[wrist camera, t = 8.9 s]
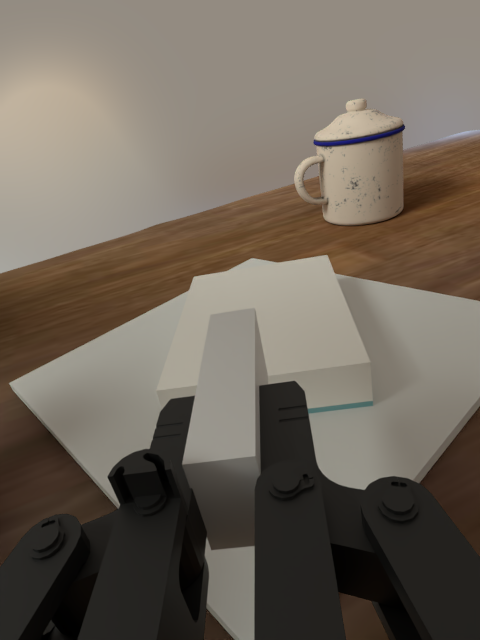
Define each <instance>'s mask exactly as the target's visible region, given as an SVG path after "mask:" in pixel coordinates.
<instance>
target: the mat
mask: <svg viewBox="0 0 480 640" xmlns="http://www.w3.org/2000/svg"><path fill="white" fill-rule="evenodd" d="M275 263H276V262H271V261H265V260H260V259H255V258H251V259H249V260H248V261H246V262H244V263H242V264H240V265H238V266H236V267H234V268H232V269H230V270H228V271H232V270H238V269H244V268H250V267H257V266H263V265H269V264H275ZM335 276H336V278H337V281H338V283H339V285H340V288H341V290H342V293H343V295H344V298H345V300H346V303H347V305H348V308H349V310H350V313H351V315H352V318H353V320H354V323H355V325H356V327H357V330H358V332H359V335H360V337H361V340H362V342H363V345H364V347H365V350H366V352H367V355H368V357H369V360H370V362H371V378H372V395H373V406H367V407H359V408H350V409H342V410H334V411H326V412H317V413H309V420H310V426H311V432H312V438H313V444H314V450H315V456H316V461H317V464H318V467H319V469H320V470H321V472H322V473H323V474H324V475H325V476H326V477H327V478H328V479H330V480H331V481H333V482H335V483H337V484H339V485H342V486H346V487H350V488H356V489H362V490H365V489H366V487H367V486H368V485H369V484H370V483H372V482H374V481H376V480H377V479H379V478H383V477H390V476H397V477H403V478H409V479H411V480H413V481H415V482H417V483H420V482H421V480H422V479H423V478H424V477H425V475H426V474H427V473H428V471H429V470H430V469H431V468H432V466H433V465H434V464H435V462H436V461H437V460H438V459H439V457H440V456H441V455H442V454H443V452H444V451H445V450H446V448H447V447H448V446H449V445H450V443H451V442H452V441H453V440H454V438H455V437H456V436H457V434H458V433H459V432H460V431H461V429H462V428H463V427H464V426H465V424H466V423H467V422H468V420H469V419H470V418H471V417H472V415H473V414H474V413H475V412H476V410H477V409H478V408H479V406H480V301H476V300H471V299H466V298H460V297H455V296H450V295H445V294H439V293H434V292H429V291H423V290H418V289H413V288H408V287H402V286H397V285H392V284H387V283H381V282H376V281H371V280H365V279H360V278H355V277H350V276H344V275H339V274H335ZM188 293H189V291H187V292H185V293H183V294H181V295H179V296H177V297H176V298H174V299H172V300H170V301H168V302H166V303H164V304H162V305H160V306H158V307H156V308H154V309H152V310H150V311H148V312H146V313H144V314H142V315H141V316H139V317H137V318H135V319H133V320H131V321H129V322H127V323H125V324H123V325H121V326H119V327H117V328H115V329H113V330H111V331H109V332H107V333H106V334H104V335H102V336H100V337H98V338H96V339H94V340H92V341H90V342H88V343H86V344H84V345H82V346H80V347H78V348H76V349H74V350H72V351H71V352H69V353H67V354H65V355H63V356H61V357H59V358H57V359H55V360H53V361H51V362H49V363H47V364H45V365H43V366H41V367H39V368H37V369H35V370H34V371H32V372H30V373H28V374H26V375H24V376H22V377H20V378H18V379H16V380H14V381H12V382H10V383H9V384H10V386H11V388H12V390H13V391H14V392H15V393H16V394H17V396H18V397H19V398H20V399H21V400H22V401H23V402H24V403H25V405H26V406H27V407H28V408H29V409H30V410H31V411H32V412H33V414H34V415H35V416H36V417H37V418H38V419H39V420H40V421H41V423H42V424H43V425H44V426H45V427H46V428H47V429H48V430H49V432H50V433H51V434H52V435H53V436H54V437H55V438H56V439H57V441H58V442H59V443H60V444H61V445H62V446H63V447H64V448H65V450H66V451H67V452H68V453H69V454H70V455H71V456H72V457H73V459H74V460H75V461H76V462H77V463H78V464H79V465H80V466H81V468H82V469H83V470H84V471H85V472H86V473H87V474H88V475H89V477H90V478H91V479H92V480H93V481H94V482H95V483H96V484H97V486H98V487H99V488H100V489H101V490H102V491H103V492H104V493H105V495H106V496H107V497H108V498H109V499H110V500H111V501H112V502H113V504H114V505H115V506H116V507H117V508H119V506H120V503H119V501H118V499H117V497H116V495H115V493H114V490H113V488H112V486H111V484H110V482H109V479H108V477H107V476H108V475H109V473H110V471H111V470H112V468H113V467H114V466H115V465H116V464H117V463H118V462H119V461H120V460H121V459H122V458H124V457H126V456H128V455H129V454H131V453H133V452H136V451H140V450H143V449H150V445H151V442H152V440H153V435H154V431H155V429H156V424H157V421H158V417H159V414H160V411H161V410H162V407H161V404H160V401H159V398H158V395H157V392H156V389H157V386H158V383H159V380H160V377H161V374H162V371H163V368H164V365H165V362H166V359H167V356H168V353H169V350H170V347H171V344H172V341H173V338H174V335H175V332H176V329H177V326H178V323H179V320H180V317H181V314H182V311H183V308H184V305H185V302H186V299H187V296H188ZM205 558H206V561H207V563H208V569H209V583H208V595H207V606H206V608H207V609H208V611H209V612H210V613H211V614H212V615H213V616H214V617H215V618H216V620H217V621H218V622H219V623H220V624H221V625H222V626H223V627H224V629H225V630H226V631H227V632H228V633H229V634H230V635H231V636H232V638H233V639H234V640H254V584H255V546H250V547H240V548H229V549H219V550H211V548H210V545H209V542H208V539H207V538H206V548H205Z"/></svg>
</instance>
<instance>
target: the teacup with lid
mask: <svg viewBox="0 0 480 640" xmlns="http://www.w3.org/2000/svg"><path fill="white" fill-rule="evenodd" d="M366 106H367V104H366V100H365V99H356V100H351V101H348V102H347V104H346V110H347V113H344V114H341V115H340V116H338V117H337V118H336V119H335V120H334V121H333V122H332V123H331V124H330V125H329V126H327V127H326V128H324V129H322V130H320V131H318V132H317V133H316V135H315V137H314V138H315V140H314V144H315V145H316V148H317V156H313V157H309V158H307V159H306V160H304V161H302V162H301V164H300V165H299V166H298V167H297V169H296V172H295V177H294V180H295V186H296V189H297V192H298V193H299V195H300V196H301V198H302V199H303V200H305V201H306V202H308V203H310V204H313V205H322V207H323V216H324V219H325V220H326V221H327V222H329V223H332V224H336V225H345V226H354V225H366V224H372V223H377V222H381V221H384V220H387V219H390V218H393V217H395V216H396V215H398V214H399V213H400V212H401V211H402V210H403V206H404V203H403V147H402V146H403V143H402V141H403V139H402V131H403V130H404V129H405V126H404V125H403V121H402V120H401V119H400V118H398V117H392V116H388V115H385V114H383V113H381V112H380V111H378V110H375V109H365V108H366ZM317 163H318V167H319V177H320V187H321V197H318V198H312V197H311V196H310V195H309V194H308V193H307V191H306V189H305V186H304V182H303V177H304V173H305V171H306V170H307V169H308V168H309V167H310V166H311V165H313V164H317Z"/></svg>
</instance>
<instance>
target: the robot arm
mask: <svg viewBox="0 0 480 640" xmlns="http://www.w3.org/2000/svg"><path fill="white" fill-rule="evenodd" d="M107 477H108V479H109V482H110V484H111V486H112V488H113V490H114V493H115V495H116V497H117V499H118V501H119V503H120V506H119V508H118V509H117V510H116V511H114V512H112V513H110V514H107V515H105V516H103V517H100V518H98V519H95V520H93V521H90V522H87V523H85V524H82V525H81V524H80V523H79V521H78V520H77V518H76V517H74V516H72V515H69V514H59V515H54V516H51V517H49V518H46V519H44V520H42V521H41V522H39V523H38V524H36V525H35V526H33V527H32V528H31V529H30V530H29V531H28V532H27V533H26V534H25V535H24V536H23V537H22V538H21V540H20V541H19V543H18V544H17V545H16V547H15V548H14V549H13V551H12V552H11V553H10V555H9V556H8V557H7V559H6V560H5V561H4V563H3V564H2V565H1V567H0V640H204V629H205V617H206V606H207V595H208V583H209V569H208V563H207V561H206V558H205V548H206V538H207V539H208V542H209V545H210V548H211V550H219V549H229V548H240V547H250V546H255V584H254V640H346V636H345V630H344V624H343V618H342V612H341V606H340V600H339V594H338V592H340V593H344V594H348V595H352V596H355V597H359V598H363V599H366V600H370V601H372V603H373V606H374V608H375V610H376V612H377V614H378V616H379V618H380V620H381V622H382V625H383V627H384V629H385V631H386V633H387V635H388V637H389V639H390V640H480V557H479V555H478V554H477V553H476V551H475V550H474V549H473V548H472V546H471V545H470V544H469V542H468V541H467V540H466V538H465V537H464V536H463V534H462V533H461V532H460V531H459V529H458V528H457V527H456V525H455V524H454V523H453V521H452V520H451V519H450V517H449V516H448V515H447V514H446V512H445V511H444V510H443V508H442V507H441V506H440V504H439V503H438V502H437V500H436V499H435V498H434V496H433V495H432V494H431V493H430V492H429V491H428V490H427V489H426V488H425V487H423V486H422V485H421V484H419V483H417V482H415V481H413V480H411V479H409V478H403V477H397V476H390V477H383V478H379V479H377V480H376V481H374V482H372V483H370V484H369V485H368V486H367V487H366V489H365V490H362V489H356V488H350V487H346V486H342V485H339V484H337V483H335V482H333V481H331V480H330V479H328V478H327V477H326V476H325V475H324V474H323V473H322V472H321V470H320V469H319V467H318V464H317V461H316V456H315V450H314V444H313V438H312V432H311V426H310V420H309V414H308V408H307V402H306V396H305V391H304V390H303V389H302V388H301V387H300V385H299V384H298V383H297V382H296V381H289V382H281V383H274V384H268V373H267V368H266V363H265V358H264V352H263V347H262V342H261V337H260V332H259V327H258V322H257V316H256V311H255V308H250V309H243V310H237V311H231V312H224V313H218V314H212V315H210V320H209V325H208V330H207V335H206V341H205V346H204V351H203V357H202V362H201V367H200V372H199V378H198V383H197V388H196V394H195V396H188V397H181V398H174V399H170V400H169V401H168V403H167V404H166V405H165V406H164V408H163V409H162V410H161V411H160V414H159V417H158V421H157V424H156V429H155V431H154V435H153V440H152V442H151V445H150V449H143V450H140V451H136V452H133V453H131V454H129V455H128V456H126V457H124V458H122V459H121V460H120V461H119V462H118V463H117V464H116V465H115V466H114V467H113V468H112V470H111V471H110V473H109V475H108V476H107Z"/></svg>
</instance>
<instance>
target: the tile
mask: <svg viewBox="0 0 480 640" xmlns="http://www.w3.org/2000/svg"><path fill="white" fill-rule="evenodd" d="M250 308H255V311H256V316H257V322H258V327H259V332H260V337H261V342H262V347H263V352H264V358H265V363H266V368H267V373H268V384H274V383H281V382H289V381H296V382H297V383H298V384H299V385H300V387H301V388H302V389H303V390H304V391H305V396H306V402H307V408H308V414H309V413H317V412H326V411H334V410H342V409H350V408H359V407H367V406H373V395H372V378H371V362H370V360H369V357H368V355H367V352H366V350H365V347H364V345H363V342H362V340H361V337H360V335H359V332H358V330H357V327H356V325H355V323H354V320H353V318H352V315H351V313H350V310H349V308H348V305H347V303H346V300H345V298H344V295H343V293H342V290H341V288H340V285H339V283H338V281H337V278H336V276H335V273H334V271H333V268H332V266H331V263H330V261H329V258H328V256H327V255H324V256H318V257H312V258H305V259H299V260H293V261H287V262H281V263H275V264H269V265H263V266H257V267H250V268H244V269H238V270H232V271H226V272H220V273H214V274H208V275H202V276H195V277H194V278H193V281H192V284H191V287H190V290H189V293H188V296H187V299H186V302H185V305H184V308H183V311H182V314H181V317H180V320H179V323H178V326H177V329H176V332H175V335H174V338H173V341H172V344H171V347H170V350H169V353H168V356H167V359H166V362H165V365H164V368H163V371H162V374H161V377H160V380H159V383H158V386H157V389H156V392H157V395H158V398H159V401H160V404H161V407H162V409H163V408H164V406H165V405H166V404H167V403H168V401H169V400H170V399H174V398H181V397H188V396H195V394H196V388H197V383H198V378H199V372H200V367H201V362H202V357H203V351H204V346H205V341H206V335H207V330H208V325H209V320H210V315H212V314H218V313H224V312H231V311H237V310H243V309H250Z"/></svg>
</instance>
